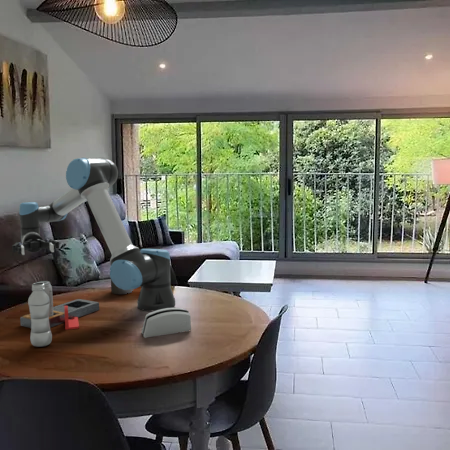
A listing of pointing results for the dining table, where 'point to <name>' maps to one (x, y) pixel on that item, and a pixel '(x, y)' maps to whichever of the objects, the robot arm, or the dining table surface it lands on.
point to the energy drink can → (49, 292)
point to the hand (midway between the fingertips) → (38, 249)
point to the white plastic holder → (166, 322)
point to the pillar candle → (118, 289)
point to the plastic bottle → (39, 316)
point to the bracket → (70, 321)
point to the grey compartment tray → (74, 310)
